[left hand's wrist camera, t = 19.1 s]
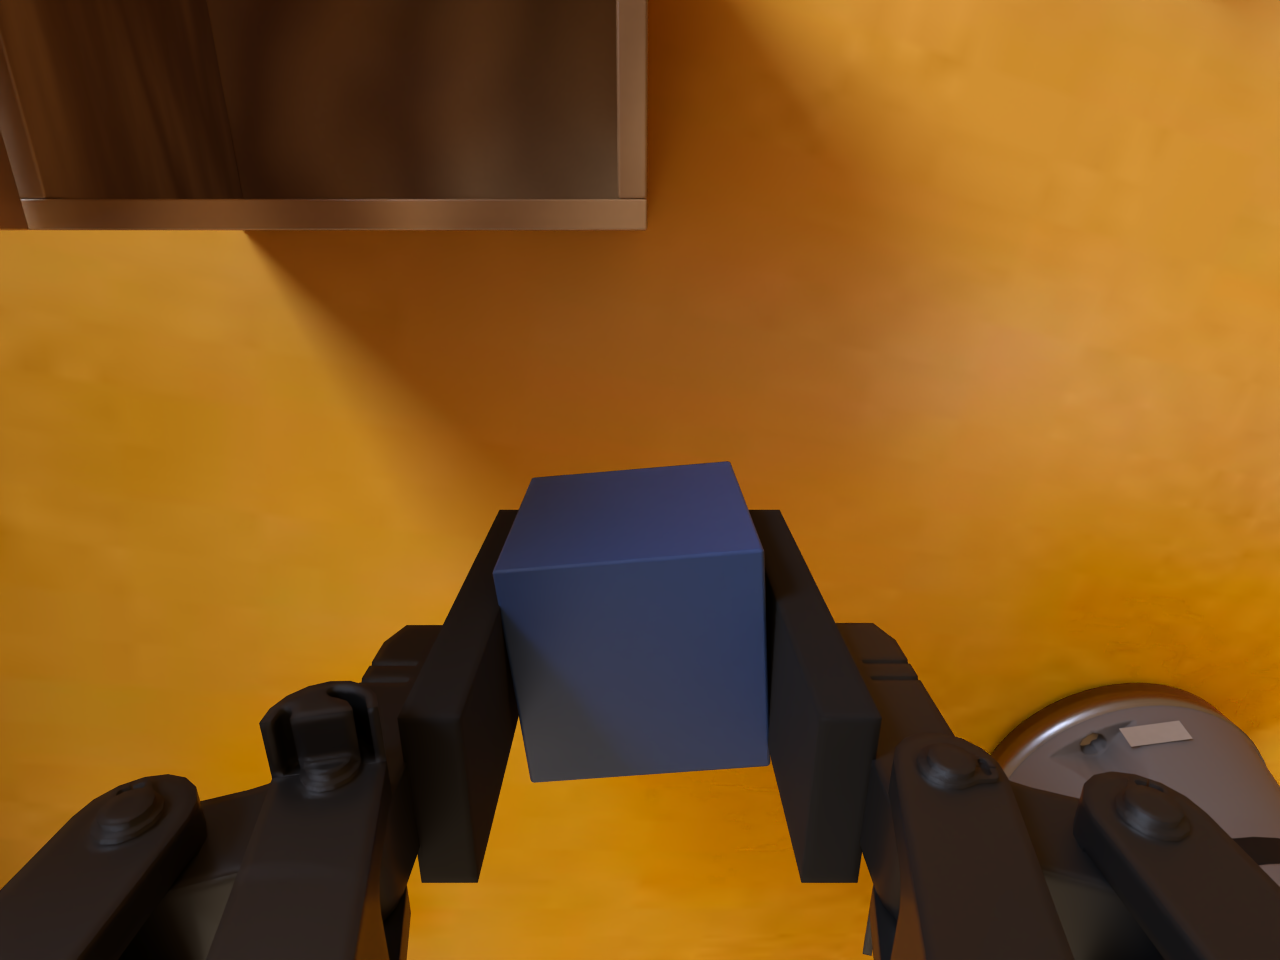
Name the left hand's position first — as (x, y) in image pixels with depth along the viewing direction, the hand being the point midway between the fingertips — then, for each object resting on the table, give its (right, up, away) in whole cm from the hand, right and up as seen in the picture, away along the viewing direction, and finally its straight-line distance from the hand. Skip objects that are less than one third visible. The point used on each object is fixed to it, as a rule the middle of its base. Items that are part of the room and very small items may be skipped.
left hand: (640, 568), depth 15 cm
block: (0, 0, 0) cm, 0 cm away
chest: (-9, +18, +13) cm, 24 cm away
